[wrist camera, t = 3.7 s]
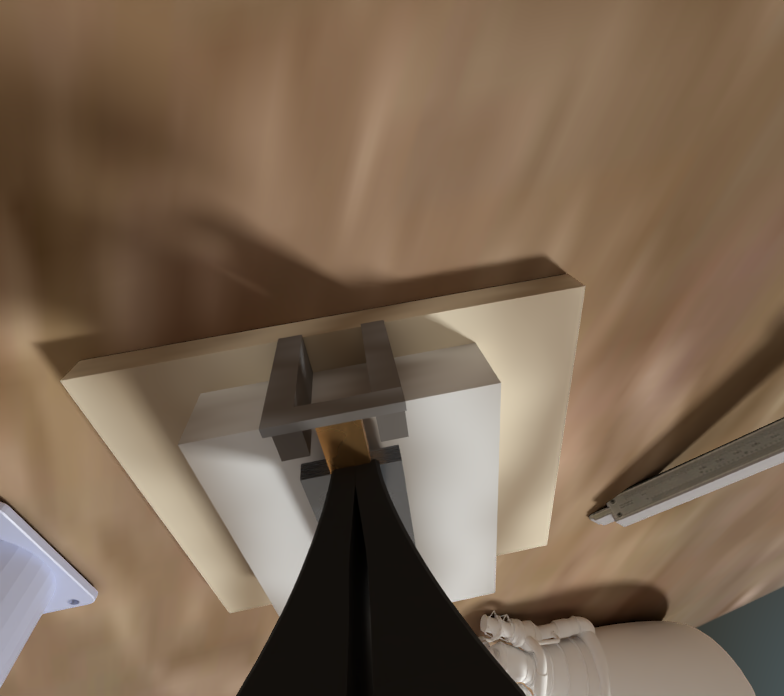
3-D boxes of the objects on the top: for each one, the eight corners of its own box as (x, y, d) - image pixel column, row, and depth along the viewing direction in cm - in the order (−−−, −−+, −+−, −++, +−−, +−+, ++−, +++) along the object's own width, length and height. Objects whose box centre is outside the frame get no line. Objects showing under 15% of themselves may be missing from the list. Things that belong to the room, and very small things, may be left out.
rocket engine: (483, 835, 20) (769, 901, 22) (532, 597, 23) (782, 674, 25) (425, 690, 32) (619, 743, 34) (463, 542, 34) (640, 598, 36)
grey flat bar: (360, 609, 18) (361, 624, 18) (282, 417, 11) (280, 434, 10) (423, 595, 18) (426, 610, 18) (390, 396, 11) (394, 412, 10)
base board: (234, 590, 22) (209, 719, 18) (77, 358, 14) (-54, 488, 9) (537, 526, 23) (590, 632, 18) (568, 271, 15) (682, 348, 10)
